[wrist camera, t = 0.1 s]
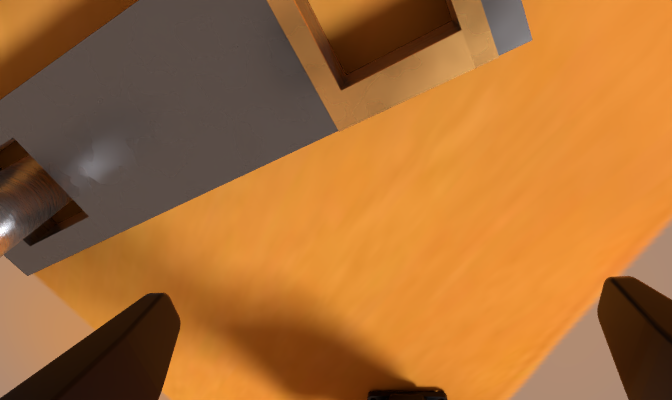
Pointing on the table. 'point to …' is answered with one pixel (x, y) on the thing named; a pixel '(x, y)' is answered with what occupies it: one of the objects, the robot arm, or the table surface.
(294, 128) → the rail
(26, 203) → the peg
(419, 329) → the table surface
